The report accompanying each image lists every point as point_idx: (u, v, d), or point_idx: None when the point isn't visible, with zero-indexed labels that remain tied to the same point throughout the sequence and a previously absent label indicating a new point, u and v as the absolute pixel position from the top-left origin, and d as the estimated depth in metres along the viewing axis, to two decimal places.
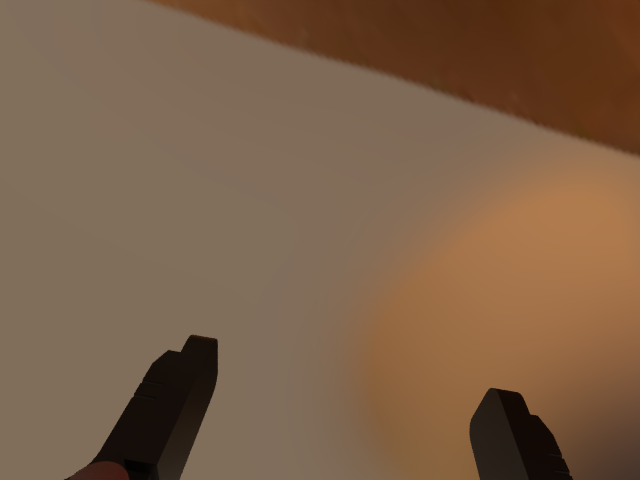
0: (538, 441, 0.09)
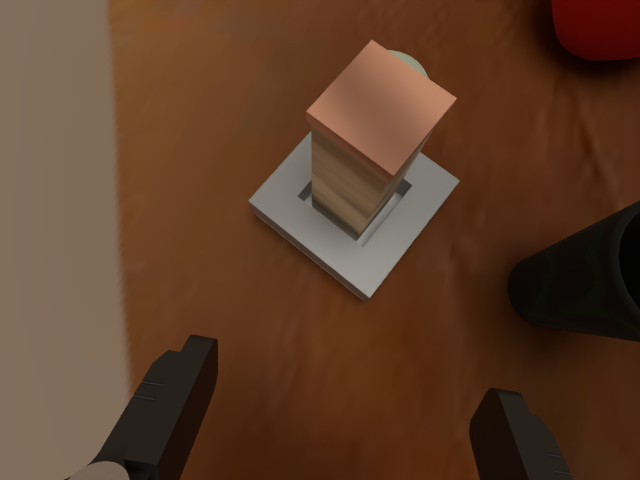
0: (538, 441, 0.09)
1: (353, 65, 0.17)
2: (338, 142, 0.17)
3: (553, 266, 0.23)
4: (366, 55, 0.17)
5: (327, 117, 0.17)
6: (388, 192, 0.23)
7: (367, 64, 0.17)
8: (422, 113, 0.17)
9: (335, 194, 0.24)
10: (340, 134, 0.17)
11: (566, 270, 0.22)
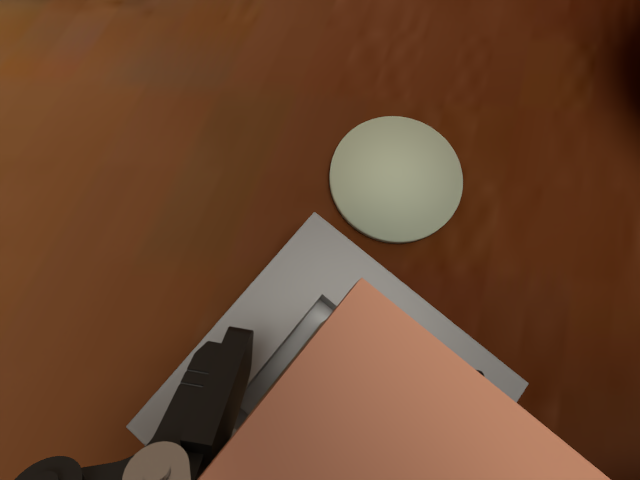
0: None
1: (284, 396, 0.04)
2: None
3: None
4: (341, 346, 0.04)
5: None
6: None
7: (342, 391, 0.04)
8: None
9: None
10: None
11: None
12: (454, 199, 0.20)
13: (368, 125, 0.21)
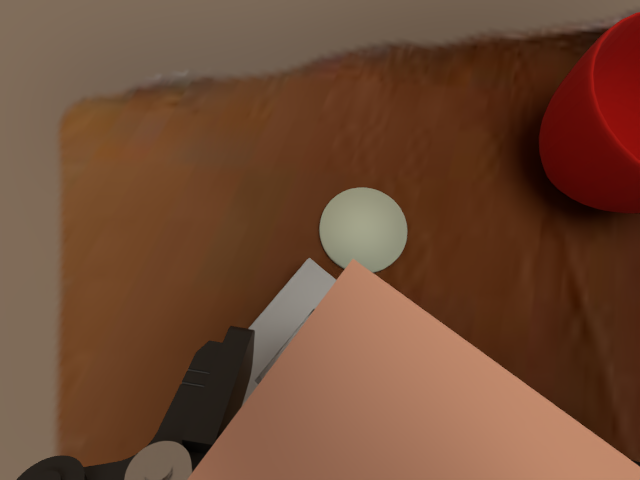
0: None
1: (283, 375, 0.04)
2: None
3: None
4: (336, 324, 0.05)
5: None
6: None
7: (339, 367, 0.04)
8: None
9: None
10: None
11: None
12: (401, 244, 0.30)
13: (345, 194, 0.31)
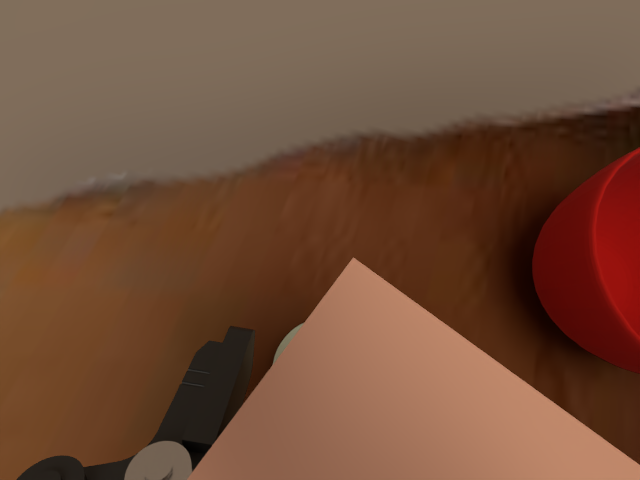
0: None
1: (283, 375, 0.04)
2: None
3: None
4: (336, 324, 0.05)
5: None
6: None
7: (340, 366, 0.04)
8: None
9: None
10: None
11: None
12: None
13: None
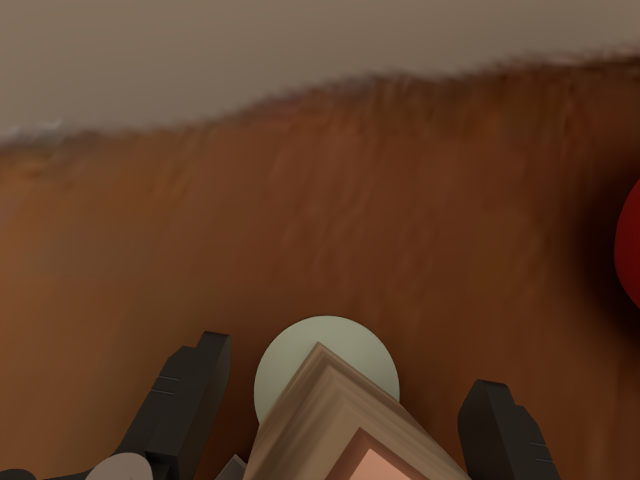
0: (522, 430, 0.09)
1: None
2: None
3: None
4: None
5: None
6: None
7: None
8: None
9: None
10: None
11: None
12: None
13: (298, 327, 0.19)
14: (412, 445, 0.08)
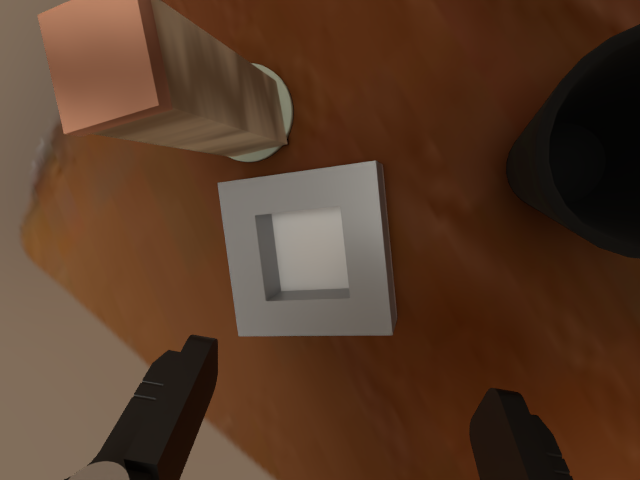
0: (538, 441, 0.09)
1: (49, 55, 0.15)
2: (111, 125, 0.16)
3: (526, 193, 0.18)
4: (47, 32, 0.15)
5: (78, 120, 0.15)
6: (232, 94, 0.20)
7: (55, 39, 0.15)
8: (124, 24, 0.14)
9: (207, 141, 0.22)
10: (98, 121, 0.15)
11: (537, 204, 0.17)
12: (283, 92, 0.27)
13: None
14: None
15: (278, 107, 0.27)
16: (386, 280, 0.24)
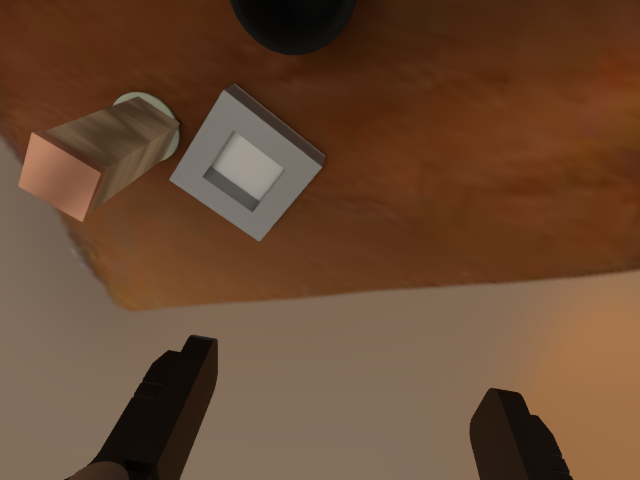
0: (538, 441, 0.09)
1: (41, 197, 0.28)
2: (94, 200, 0.28)
3: None
4: (30, 189, 0.27)
5: (80, 210, 0.28)
6: (124, 132, 0.31)
7: (36, 188, 0.27)
8: (53, 155, 0.26)
9: (139, 165, 0.34)
10: (88, 203, 0.28)
11: None
12: (148, 98, 0.37)
13: None
14: None
15: (154, 109, 0.37)
16: (291, 143, 0.35)
